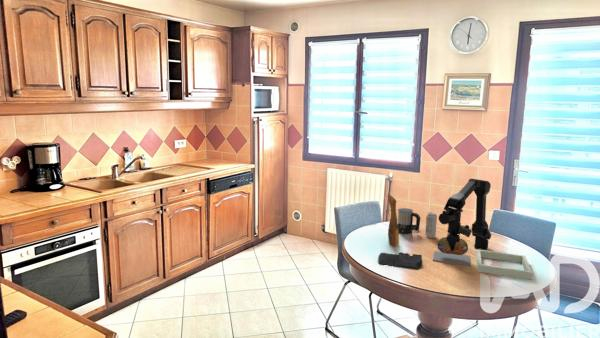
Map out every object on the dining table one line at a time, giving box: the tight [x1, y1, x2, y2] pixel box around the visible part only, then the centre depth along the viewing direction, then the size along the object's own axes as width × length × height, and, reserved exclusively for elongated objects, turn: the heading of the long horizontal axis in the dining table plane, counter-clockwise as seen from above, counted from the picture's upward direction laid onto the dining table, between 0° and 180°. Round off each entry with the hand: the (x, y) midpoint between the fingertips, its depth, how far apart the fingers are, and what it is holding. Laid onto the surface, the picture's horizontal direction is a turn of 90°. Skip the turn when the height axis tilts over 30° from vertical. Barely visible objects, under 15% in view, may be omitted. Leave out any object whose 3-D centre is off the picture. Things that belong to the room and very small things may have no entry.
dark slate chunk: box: [377, 252, 423, 270], centre depth 210 cm, size 15×22×5 cm
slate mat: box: [432, 250, 471, 267], centre depth 215 cm, size 18×14×1 cm
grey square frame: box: [476, 248, 533, 280], centre depth 205 cm, size 23×23×4 cm
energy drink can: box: [424, 211, 438, 239], centre depth 249 cm, size 6×6×15 cm
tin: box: [436, 236, 469, 255], centre depth 214 cm, size 15×3×8 cm, turn 68°
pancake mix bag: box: [387, 193, 400, 248], centre depth 237 cm, size 7×19×28 cm, turn 173°
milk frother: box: [397, 207, 421, 235], centre depth 259 cm, size 14×16×15 cm
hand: (452, 249), depth 215 cm, fingers closed on tin, 2 cm apart
